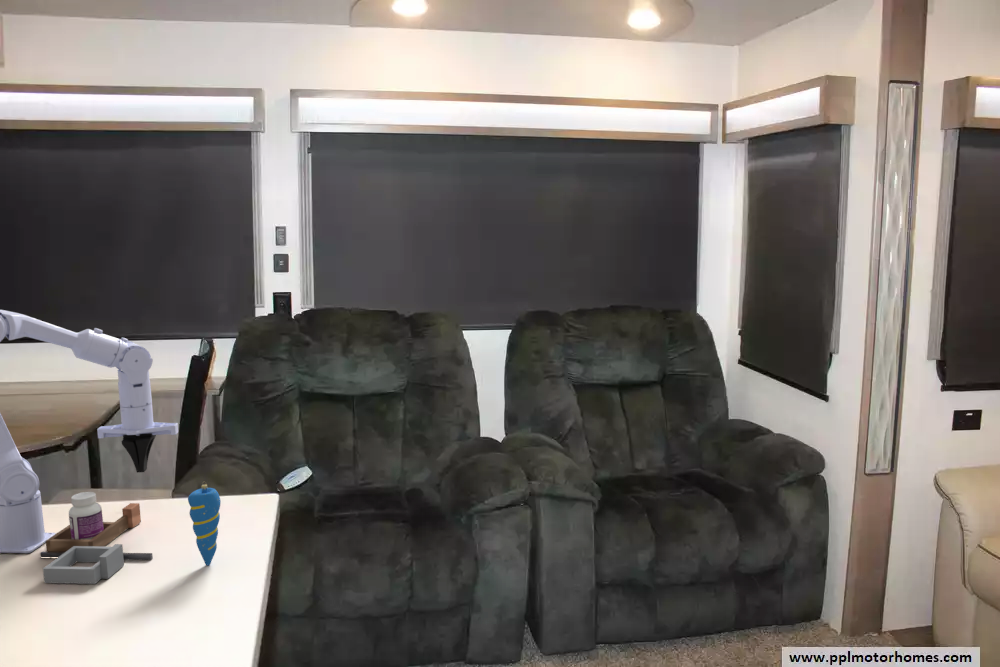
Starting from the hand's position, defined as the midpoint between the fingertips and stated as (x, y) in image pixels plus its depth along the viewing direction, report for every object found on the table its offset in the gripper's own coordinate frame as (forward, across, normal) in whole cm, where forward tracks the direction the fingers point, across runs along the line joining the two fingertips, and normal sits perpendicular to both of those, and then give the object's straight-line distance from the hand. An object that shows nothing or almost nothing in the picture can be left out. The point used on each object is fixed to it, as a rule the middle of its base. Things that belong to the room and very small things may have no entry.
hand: (141, 470), depth 155 cm
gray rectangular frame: (+9, -3, -24) cm, 26 cm away
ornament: (+10, +18, -25) cm, 32 cm away
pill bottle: (+10, -6, -13) cm, 17 cm away
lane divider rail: (+9, -3, -19) cm, 21 cm away
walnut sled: (+9, -6, -10) cm, 15 cm away
